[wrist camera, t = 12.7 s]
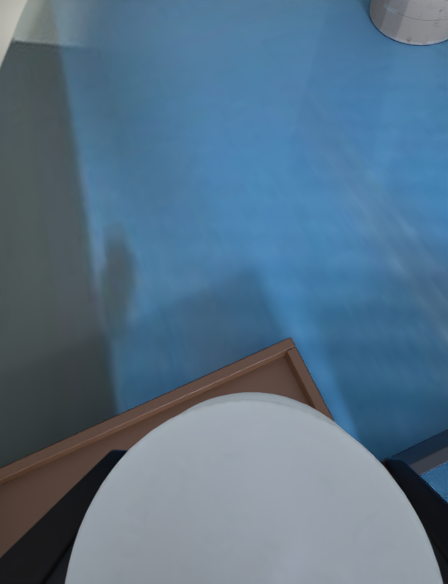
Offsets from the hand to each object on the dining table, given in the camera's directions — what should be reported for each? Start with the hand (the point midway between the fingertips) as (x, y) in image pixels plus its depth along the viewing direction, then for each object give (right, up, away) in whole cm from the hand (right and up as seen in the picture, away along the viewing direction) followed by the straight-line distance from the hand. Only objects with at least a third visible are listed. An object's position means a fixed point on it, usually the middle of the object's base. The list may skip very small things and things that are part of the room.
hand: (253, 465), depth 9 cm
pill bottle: (0, -4, +6) cm, 7 cm away
